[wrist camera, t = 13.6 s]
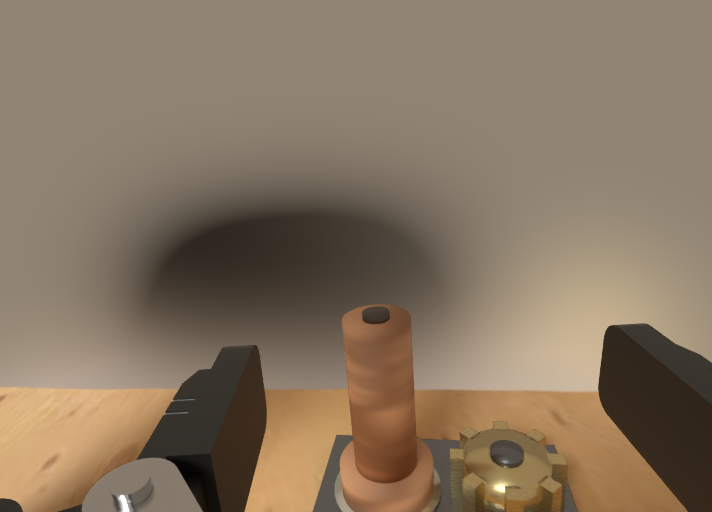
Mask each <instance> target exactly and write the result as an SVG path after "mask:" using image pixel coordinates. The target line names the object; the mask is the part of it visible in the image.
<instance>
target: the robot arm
mask: <svg viewBox="0 0 712 512" xmlns="http://www.w3.org/2000/svg"><path fill="white" fill-rule="evenodd" d="M598 390H599V397H600V401H601V404H602V406H603V408H604V410H605V412H606V413H607V415H608V416H609V417H610V418H611V420H612V421H613V422H614V423H615V424H616V426H617V427H618V428H619V429H620V430H621V432H622V433H623V434H624V435H625V436H626V438H627V439H628V440H629V441H630V442H631V444H632V445H633V446H634V447H635V448H636V450H637V451H638V452H639V453H640V454H641V456H642V457H643V458H644V459H645V460H646V461H647V463H648V464H649V465H650V466H651V467H652V469H653V470H654V471H655V472H656V473H657V475H658V476H659V477H660V478H661V479H662V481H663V482H664V483H665V484H666V485H667V487H668V488H669V489H670V490H671V491H672V493H673V494H674V495H675V496H676V497H677V499H678V500H679V501H680V502H681V503H682V505H683V506H684V507H685V508H686V509H687V511H688V512H712V363H711V362H710V361H708V360H707V359H705V358H704V357H702V356H701V355H699V354H697V353H695V352H693V351H690V350H688V349H686V348H683V347H681V346H679V345H677V344H675V343H673V342H672V341H670V340H669V339H668V338H666V337H665V336H663V335H662V334H661V333H660V332H658V331H657V330H655V329H654V328H653V327H651V326H650V325H648V324H628V325H627V324H626V325H612V326H609V327H608V328H607V330H606V332H605V335H604V342H603V351H602V359H601V367H600V377H599V387H598ZM266 419H267V409H266V399H265V391H264V384H263V377H262V370H261V363H260V355H259V350H258V348H257V346H256V345H246V346H229V347H223V348H222V349H221V351H220V353H219V355H218V357H217V359H216V361H215V363H214V365H213V366H212V368H211V369H206V370H199V371H197V372H196V373H195V374H194V375H193V376H191V377H190V378H189V379H187V380H186V381H185V382H184V383H183V384H182V385H181V387H180V388H179V390H178V392H177V393H176V395H175V397H174V398H173V402H171V403H170V405H169V407H168V408H167V410H166V412H165V415H163V417H162V418H161V420H160V422H159V423H158V425H157V427H156V428H155V430H154V432H153V433H152V435H151V437H150V438H149V440H148V442H147V443H146V445H145V447H144V448H143V450H142V452H141V453H140V455H139V457H138V458H137V460H135V461H132V462H129V463H127V464H124V465H122V466H120V467H118V468H116V469H114V470H112V471H111V472H109V473H108V474H106V475H105V476H104V477H102V478H101V479H100V480H99V481H98V482H97V483H95V484H94V486H93V487H92V488H91V489H90V490H89V492H88V493H87V495H86V497H85V499H84V501H83V504H81V505H78V506H75V507H72V508H69V509H66V510H62V511H59V512H244V511H245V507H246V503H247V500H248V496H249V492H250V488H251V484H252V480H253V476H254V472H255V469H256V465H257V461H258V457H259V453H260V449H261V445H262V441H263V438H264V434H265V429H266ZM0 512H23V510H22V508H21V506H20V504H18V503H17V502H16V501H14V500H11V499H4V498H1V499H0Z"/></svg>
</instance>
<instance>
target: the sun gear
mask: <svg viewBox="0 0 712 512" xmlns="http://www.w3.org/2000/svg"><path fill="white" fill-rule="evenodd" d="M545 447H546V436H545V435H543V434H542V433H540V432H538V431H536V430H534V429H533V430H532V431H530V432H529V433H528V434H526V435H525V434H523V433H520V432H517V431H513V430H508V426H507V422H503V421H493V429H490V430H485V431H481V432H477V431H475V430H474V429H472V428H471V427H467V428H466V429H464V430H462V431H461V432H460V449H450V479H451V498H463V512H561V505H565V495H566V480H567V462H566V459H565V457H564V454H550V453H548V451H547V450H546V449H545Z"/></svg>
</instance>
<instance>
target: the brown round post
mask: <svg viewBox="0 0 712 512" xmlns="http://www.w3.org/2000/svg"><path fill="white" fill-rule="evenodd" d="M342 329H343V339H344V350H345V360H346V371H347V382H348V392H349V403H350V413H351V424H352V435H353V441H351V442H350V443H349V444H348V445H347V446H346V448H345V449H344V451H343V452H342V455H341V458H340V473H341V482H342V491H343V496H344V499H345V501H346V503H347V505H348V506H349V507H350V509H351V510H352V511H353V512H422V511H423V510H424V509H425V508H426V507H427V506H428V504H429V503H430V501H431V499H432V497H433V493H434V472H433V457H432V453H431V451H430V449H429V448H428V446H427V445H426V444H425V443H424V442H423V441H422V440H421V439H419V438H418V437H416V422H415V400H414V380H413V357H412V336H411V316H410V314H409V312H408V311H406V310H405V309H403V308H400V307H397V306H392V305H382V304H380V305H379V304H377V305H368V306H363V307H359V308H356V309H353V310H351V311H350V312H348V313H346V314H345V315H344V317H343V318H342Z"/></svg>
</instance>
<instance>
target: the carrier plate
mask: <svg viewBox="0 0 712 512" xmlns="http://www.w3.org/2000/svg"><path fill="white" fill-rule="evenodd" d="M421 440H422V441H423V442H424V443H425V444H426V445H427V446H428V448H429V449H430V451H431V453H432V457H433V472H434V493H433V497H432V499H431V501H430V503H429V504H428V506H427V507H426V508H425V509H424V510H423V511H422V512H463V498H451V479H450V449H460V441H455V440H433V439H421ZM351 441H353V436H348V435H336V438H335V442H334V445H333V448H332V451H331V455H330V458H329V461H328V464H327V467H326V471H325V474H324V477H323V480H322V484H321V487H320V490H319V493H318V497H317V500H316V503H315V506H314V509H313V512H353V511H352V510H351V509H350V507H349V506H348V505H347V503H346V501H345V499H344V496H343V491H342V482H341V473H340V458H341V455H342V452H343V451H344V449H345V448H346V446H347V445H348V444H349V443H350V442H351ZM545 449H546V450H547V451H548V453H550V454H557V452H556V449H555V446H554V445H546V447H545ZM561 512H577V510H576V507H575V504H574V501H573V498H572V495H571V492H570V489H569V486H568V484H567V481H566V495H565V505H561Z"/></svg>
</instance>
